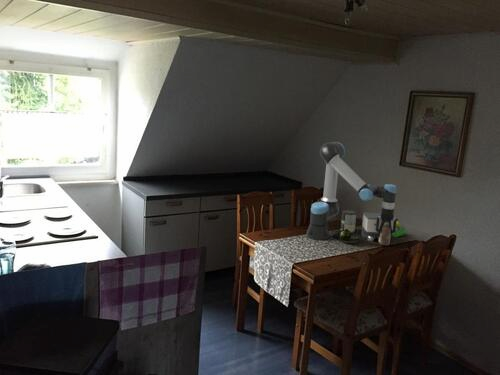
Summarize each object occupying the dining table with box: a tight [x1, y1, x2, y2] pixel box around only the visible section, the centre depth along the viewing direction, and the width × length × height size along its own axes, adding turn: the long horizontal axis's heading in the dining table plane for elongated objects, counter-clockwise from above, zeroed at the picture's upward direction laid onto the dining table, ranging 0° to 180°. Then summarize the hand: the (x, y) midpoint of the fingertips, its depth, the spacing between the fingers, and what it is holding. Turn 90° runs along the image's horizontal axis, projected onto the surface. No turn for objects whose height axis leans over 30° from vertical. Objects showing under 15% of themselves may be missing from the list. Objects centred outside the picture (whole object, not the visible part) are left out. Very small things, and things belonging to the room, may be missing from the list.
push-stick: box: [377, 225, 391, 246], centre depth 282 cm, size 5×15×12 cm, turn 177°
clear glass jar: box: [340, 209, 357, 233], centre depth 308 cm, size 10×10×14 cm
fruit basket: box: [392, 220, 407, 238], centre depth 302 cm, size 11×9×11 cm
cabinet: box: [360, 211, 394, 240], centre depth 289 cm, size 19×16×17 cm
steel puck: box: [367, 235, 376, 242], centre depth 288 cm, size 4×4×3 cm
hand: (384, 242), depth 278 cm, fingers closed on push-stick, 5 cm apart
